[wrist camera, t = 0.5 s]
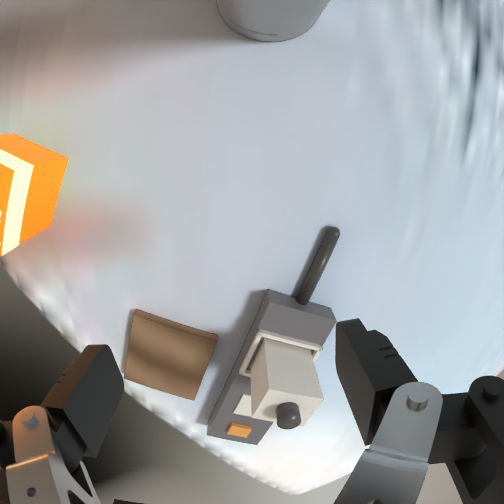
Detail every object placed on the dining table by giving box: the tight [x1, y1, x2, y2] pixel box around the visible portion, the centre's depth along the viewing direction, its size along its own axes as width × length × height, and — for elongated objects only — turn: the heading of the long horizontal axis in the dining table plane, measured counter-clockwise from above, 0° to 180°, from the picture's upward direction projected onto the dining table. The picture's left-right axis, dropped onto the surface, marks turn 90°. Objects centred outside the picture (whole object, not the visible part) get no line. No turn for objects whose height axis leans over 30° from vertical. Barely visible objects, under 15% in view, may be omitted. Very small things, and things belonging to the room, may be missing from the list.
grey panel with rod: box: [207, 227, 340, 445], centre depth 32 cm, size 30×7×3 cm, turn 160°
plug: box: [250, 338, 324, 429], centre depth 27 cm, size 4×5×8 cm
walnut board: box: [124, 309, 218, 401], centre depth 33 cm, size 10×9×1 cm
